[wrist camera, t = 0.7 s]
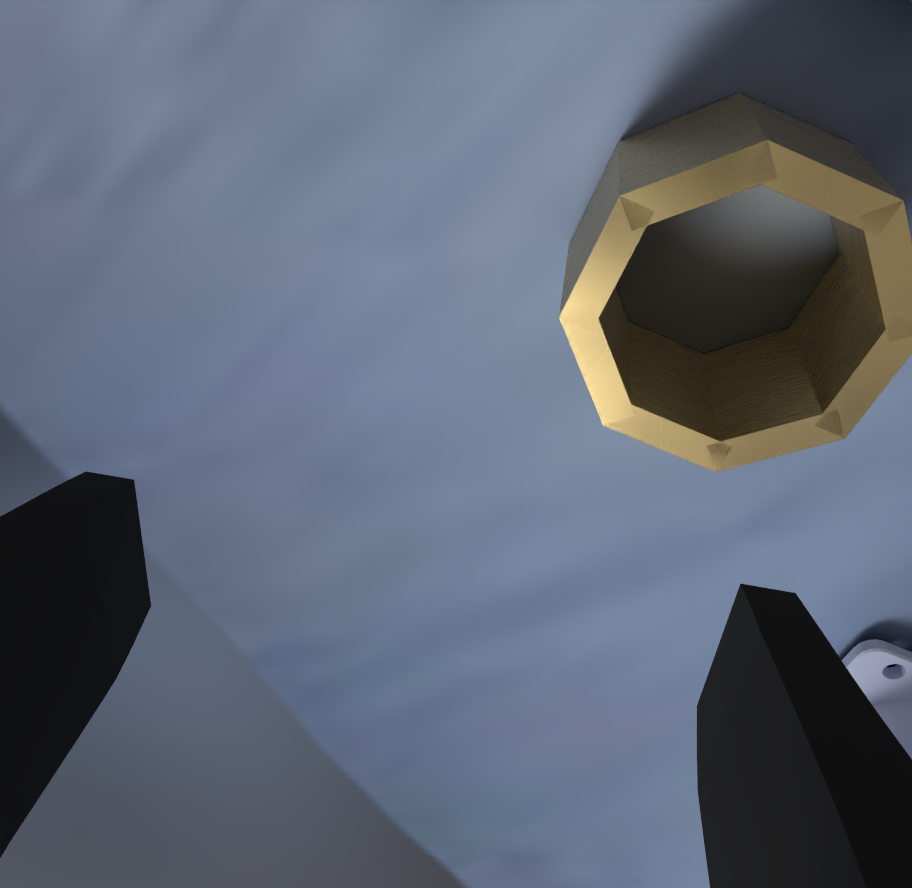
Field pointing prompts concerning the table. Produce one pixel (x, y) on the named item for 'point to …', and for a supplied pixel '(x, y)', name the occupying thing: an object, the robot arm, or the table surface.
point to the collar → (764, 358)
